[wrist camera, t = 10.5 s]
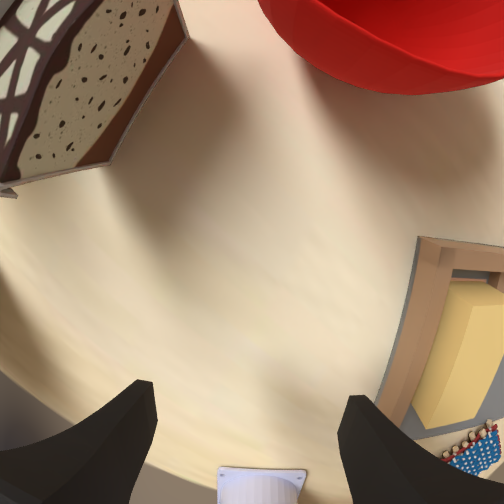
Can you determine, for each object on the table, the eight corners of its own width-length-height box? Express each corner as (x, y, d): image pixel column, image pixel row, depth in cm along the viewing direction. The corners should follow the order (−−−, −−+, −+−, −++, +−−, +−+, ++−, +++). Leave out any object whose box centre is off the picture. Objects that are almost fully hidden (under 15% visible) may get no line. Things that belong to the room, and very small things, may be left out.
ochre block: (482, 281, 18) (520, 303, 14) (449, 385, 20) (474, 418, 16) (435, 280, 18) (473, 306, 14) (404, 391, 20) (425, 429, 16)
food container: (130, -6, 15) (63, -85, 5) (203, 19, 15) (161, -83, 6) (39, 146, 17) (-73, 146, 8) (100, 186, 18) (-16, 205, 8)
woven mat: (499, 447, 24) (505, 457, 22) (429, 493, 26) (434, 504, 24) (493, 414, 21) (501, 426, 19) (408, 471, 23) (413, 485, 22)
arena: (500, 414, 22) (513, 430, 19) (358, 442, 22) (366, 466, 20) (560, 255, 18) (580, 264, 15) (417, 236, 18) (441, 246, 15)
